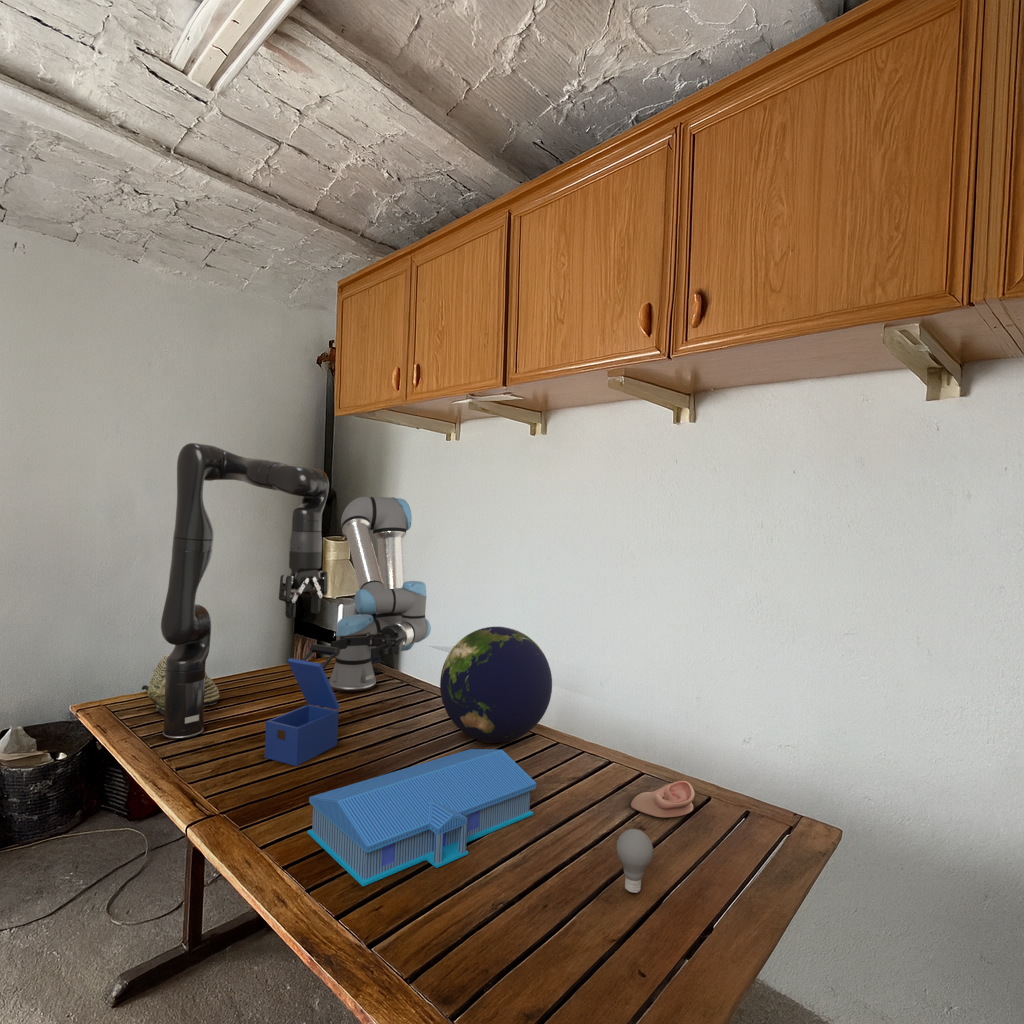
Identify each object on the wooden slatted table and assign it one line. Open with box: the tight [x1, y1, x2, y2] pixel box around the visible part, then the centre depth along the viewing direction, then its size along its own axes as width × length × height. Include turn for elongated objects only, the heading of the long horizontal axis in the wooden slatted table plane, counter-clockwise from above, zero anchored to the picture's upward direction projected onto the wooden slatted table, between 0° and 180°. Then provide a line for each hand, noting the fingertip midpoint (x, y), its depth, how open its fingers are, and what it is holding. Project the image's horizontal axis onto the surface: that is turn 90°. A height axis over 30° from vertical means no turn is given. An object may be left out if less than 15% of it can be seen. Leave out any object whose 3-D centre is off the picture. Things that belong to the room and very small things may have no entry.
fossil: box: [147, 654, 221, 711], centre depth 185 cm, size 9×18×15 cm, turn 132°
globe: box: [439, 625, 553, 744], centre depth 169 cm, size 30×30×30 cm
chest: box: [264, 703, 339, 767], centre depth 157 cm, size 15×10×9 cm
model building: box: [307, 748, 538, 887], centre depth 123 cm, size 39×24×10 cm, turn 132°
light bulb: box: [615, 828, 654, 894], centre depth 106 cm, size 6×6×10 cm
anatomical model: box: [630, 780, 695, 818], centre depth 136 cm, size 13×4×12 cm
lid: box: [287, 643, 341, 711], centre depth 163 cm, size 15×10×9 cm
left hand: (303, 615), depth 155 cm, fingers open, 8 cm apart
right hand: (351, 650), depth 173 cm, fingers open, 13 cm apart
